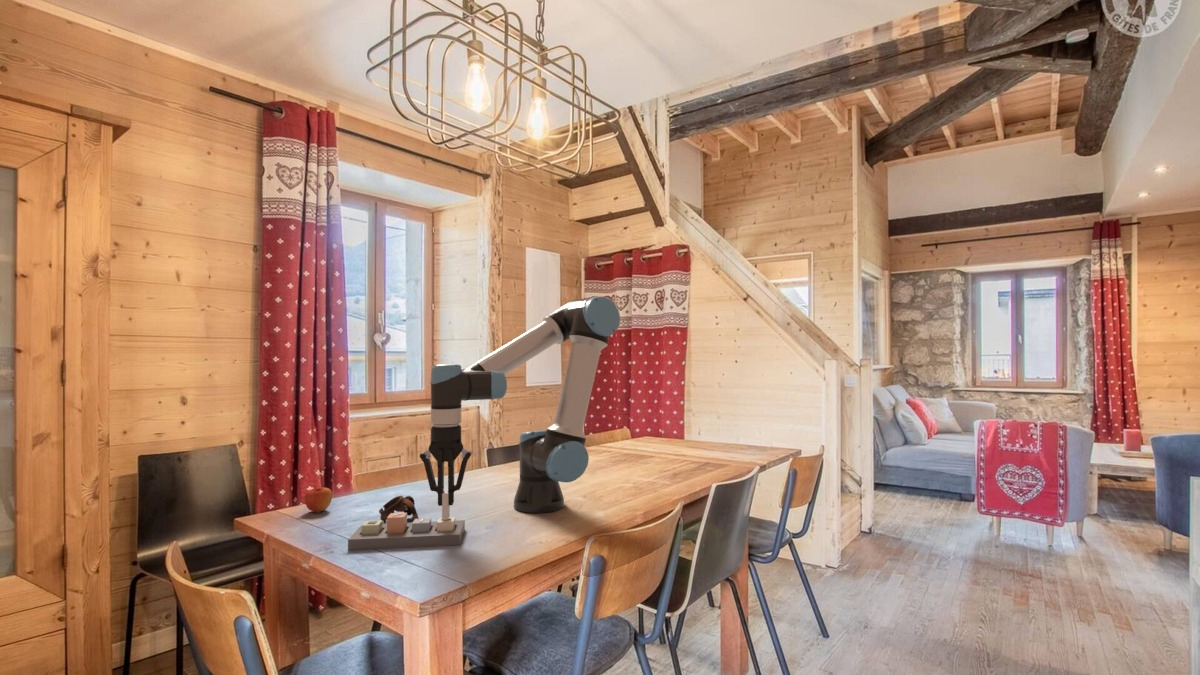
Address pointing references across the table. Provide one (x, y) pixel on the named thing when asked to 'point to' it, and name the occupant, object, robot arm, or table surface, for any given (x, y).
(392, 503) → the dark brown curved piece
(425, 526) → the slate key
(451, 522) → the cream key
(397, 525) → the terracotta key
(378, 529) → the sage key
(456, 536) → the keypad board
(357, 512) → the table surface
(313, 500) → the apple
